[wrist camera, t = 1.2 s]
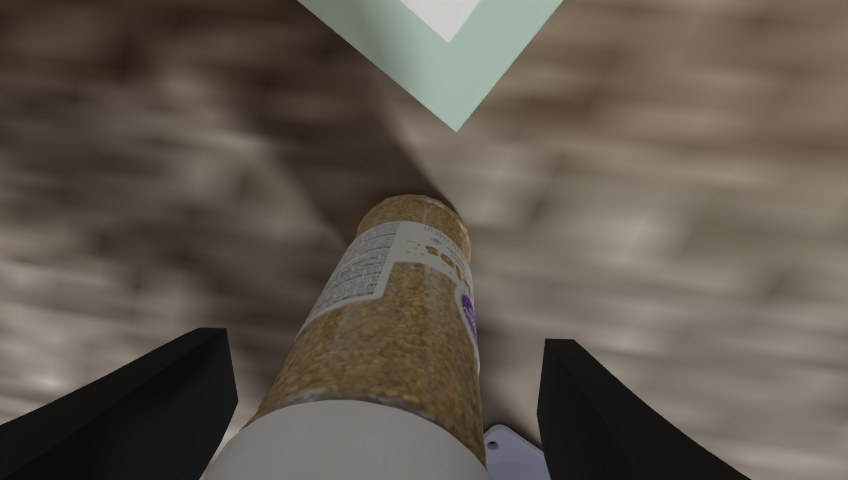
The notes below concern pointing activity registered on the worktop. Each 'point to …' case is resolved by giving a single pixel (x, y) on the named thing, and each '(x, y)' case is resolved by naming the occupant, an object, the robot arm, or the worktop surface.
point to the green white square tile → (438, 44)
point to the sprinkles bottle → (378, 364)
